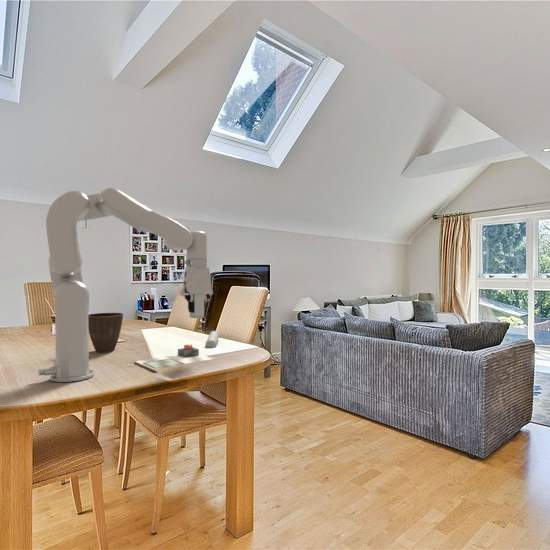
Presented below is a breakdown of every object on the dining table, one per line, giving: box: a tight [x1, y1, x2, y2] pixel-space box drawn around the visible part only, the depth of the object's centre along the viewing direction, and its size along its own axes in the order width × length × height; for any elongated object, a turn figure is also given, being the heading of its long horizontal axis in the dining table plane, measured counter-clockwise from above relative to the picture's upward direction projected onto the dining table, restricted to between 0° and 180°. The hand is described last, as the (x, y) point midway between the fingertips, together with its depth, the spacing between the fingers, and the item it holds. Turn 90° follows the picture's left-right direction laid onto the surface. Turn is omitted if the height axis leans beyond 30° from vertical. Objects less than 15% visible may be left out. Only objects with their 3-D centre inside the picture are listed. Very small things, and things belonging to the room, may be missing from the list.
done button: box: [183, 344, 193, 350], centre depth 155 cm, size 3×3×2 cm
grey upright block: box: [189, 294, 205, 319], centre depth 148 cm, size 4×4×11 cm
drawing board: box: [133, 346, 215, 374], centre depth 146 cm, size 25×17×4 cm
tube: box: [205, 330, 220, 348], centre depth 183 cm, size 5×5×25 cm
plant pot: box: [88, 312, 124, 354], centre depth 169 cm, size 15×15×16 cm
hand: (196, 311), depth 148 cm, fingers closed on grey upright block, 4 cm apart
